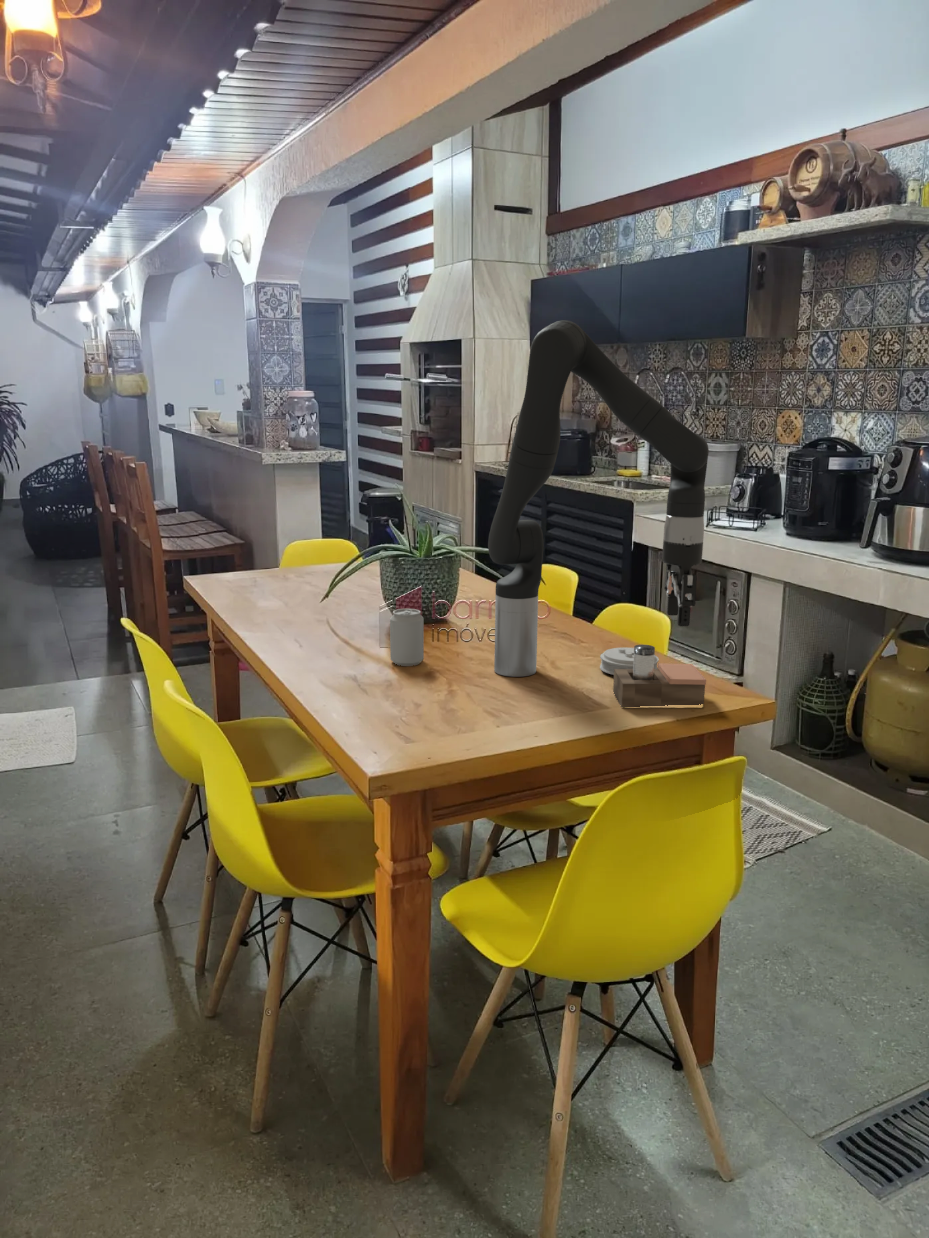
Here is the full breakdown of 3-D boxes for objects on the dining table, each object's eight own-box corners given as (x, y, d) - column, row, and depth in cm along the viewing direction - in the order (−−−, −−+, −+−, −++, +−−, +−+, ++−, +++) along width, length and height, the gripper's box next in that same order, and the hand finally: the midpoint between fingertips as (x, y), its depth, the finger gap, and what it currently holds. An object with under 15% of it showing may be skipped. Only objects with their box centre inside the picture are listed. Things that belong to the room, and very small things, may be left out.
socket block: (613, 692, 197) (614, 669, 196) (690, 692, 197) (692, 669, 196) (621, 708, 187) (622, 683, 186) (703, 708, 187) (705, 683, 186)
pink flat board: (657, 668, 196) (657, 663, 196) (691, 668, 196) (692, 663, 196) (669, 684, 185) (670, 679, 185) (705, 684, 186) (706, 679, 185)
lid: (669, 673, 212) (670, 651, 210) (636, 685, 203) (637, 662, 202) (621, 661, 220) (622, 640, 219) (588, 672, 211) (588, 650, 210)
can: (385, 665, 215) (384, 612, 212) (398, 656, 222) (398, 606, 219) (415, 668, 213) (415, 615, 210) (428, 659, 219) (428, 608, 217)
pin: (629, 697, 194) (632, 644, 191) (649, 697, 194) (652, 644, 191) (633, 703, 190) (636, 649, 187) (653, 703, 190) (656, 649, 188)
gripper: (655, 532, 192) (650, 611, 196) (673, 544, 178) (667, 629, 182) (692, 533, 192) (687, 611, 196) (713, 545, 178) (706, 629, 182)
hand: (677, 620), depth 189 cm, fingers open, 8 cm apart
